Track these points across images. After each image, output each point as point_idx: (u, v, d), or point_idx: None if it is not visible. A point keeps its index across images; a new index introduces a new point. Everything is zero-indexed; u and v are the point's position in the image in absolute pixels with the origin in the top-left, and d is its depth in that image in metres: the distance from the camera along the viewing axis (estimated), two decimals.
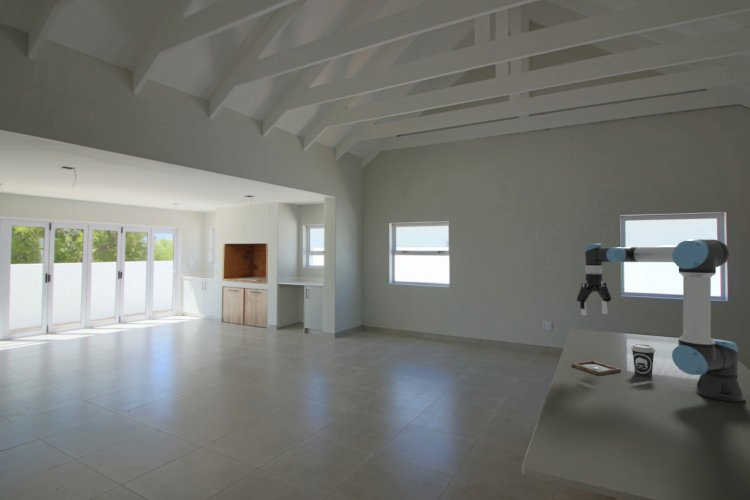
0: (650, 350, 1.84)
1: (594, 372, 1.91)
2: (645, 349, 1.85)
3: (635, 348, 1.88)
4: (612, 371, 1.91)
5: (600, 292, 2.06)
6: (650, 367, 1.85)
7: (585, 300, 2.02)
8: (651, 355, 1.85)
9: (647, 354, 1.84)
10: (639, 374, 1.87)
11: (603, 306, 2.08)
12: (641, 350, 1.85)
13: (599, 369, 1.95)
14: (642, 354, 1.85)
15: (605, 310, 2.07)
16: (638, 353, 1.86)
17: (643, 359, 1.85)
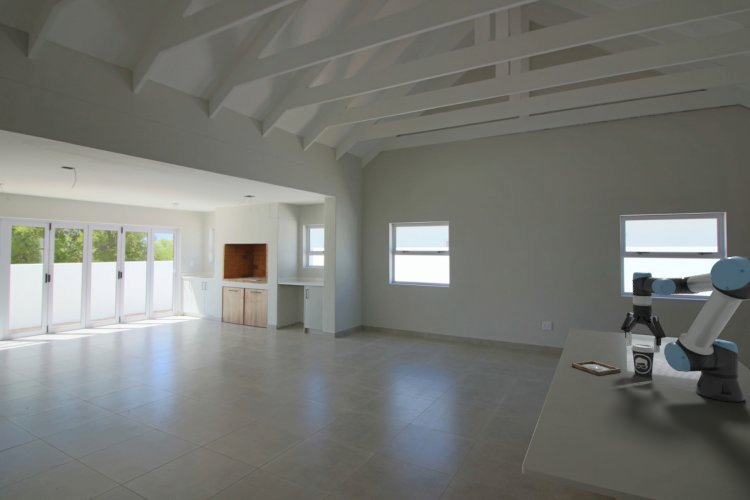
0: (650, 350, 1.84)
1: (594, 372, 1.91)
2: (645, 349, 1.85)
3: (635, 348, 1.88)
4: (612, 371, 1.91)
5: None
6: (650, 367, 1.85)
7: (627, 330, 1.95)
8: (651, 355, 1.85)
9: (647, 354, 1.84)
10: (639, 374, 1.87)
11: None
12: (641, 350, 1.85)
13: (599, 369, 1.95)
14: (642, 354, 1.85)
15: None
16: (638, 353, 1.86)
17: (643, 359, 1.85)
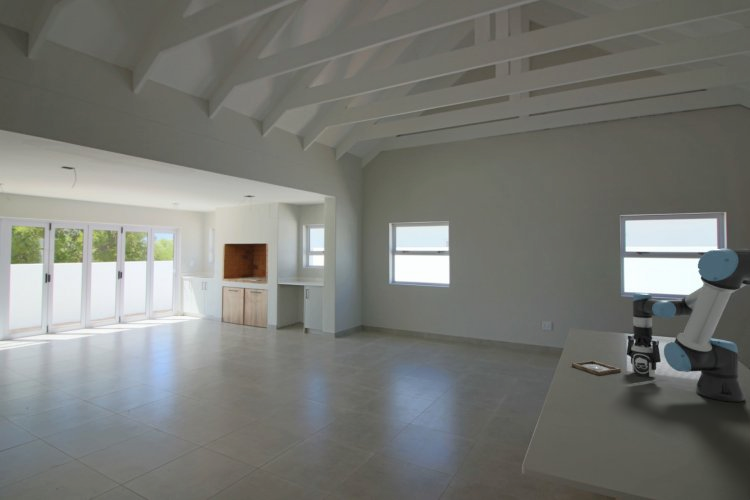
0: (650, 350, 1.84)
1: (594, 372, 1.91)
2: (645, 349, 1.85)
3: (635, 348, 1.88)
4: (612, 371, 1.91)
5: None
6: None
7: (632, 355, 1.92)
8: None
9: (647, 354, 1.84)
10: (639, 374, 1.87)
11: None
12: (641, 350, 1.85)
13: (599, 369, 1.95)
14: (642, 354, 1.85)
15: None
16: (638, 353, 1.86)
17: (643, 359, 1.85)
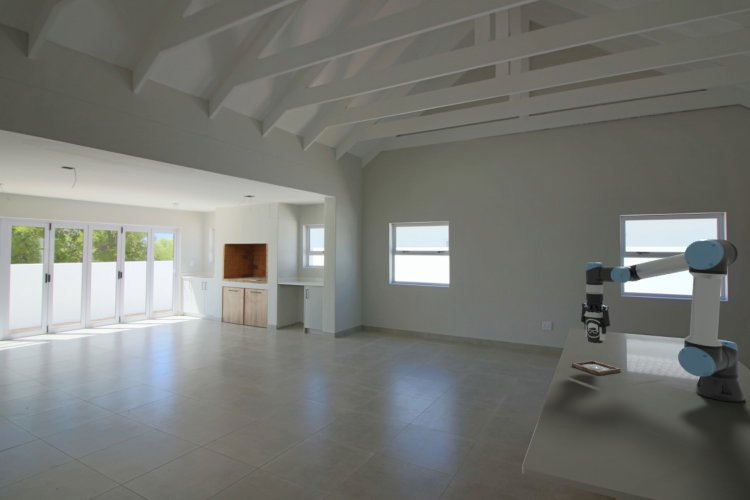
0: (601, 315, 1.94)
1: (594, 372, 1.91)
2: (596, 314, 1.95)
3: (587, 314, 1.98)
4: (612, 371, 1.91)
5: None
6: None
7: (585, 321, 2.02)
8: None
9: (598, 319, 1.94)
10: (591, 338, 1.97)
11: None
12: (592, 315, 1.95)
13: (599, 369, 1.95)
14: (593, 319, 1.95)
15: None
16: (590, 318, 1.96)
17: (594, 323, 1.95)
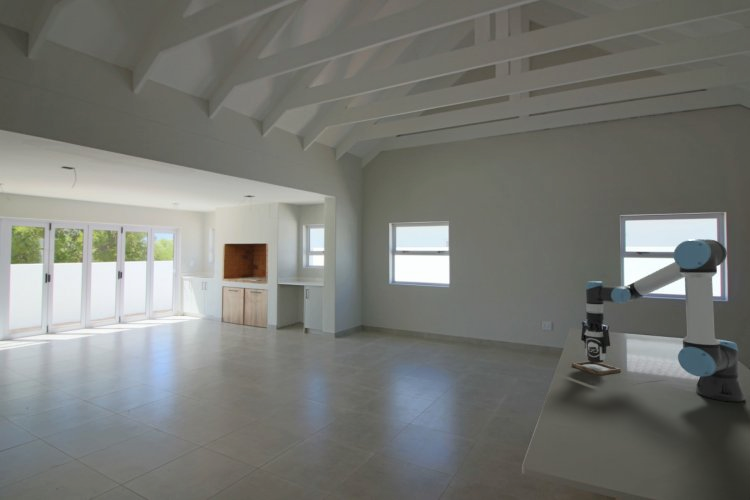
0: (601, 335, 1.94)
1: (594, 372, 1.91)
2: (596, 334, 1.95)
3: (587, 333, 1.98)
4: (612, 371, 1.91)
5: None
6: None
7: None
8: None
9: (598, 338, 1.94)
10: (591, 358, 1.97)
11: None
12: (593, 335, 1.95)
13: (599, 369, 1.95)
14: (593, 338, 1.95)
15: None
16: (590, 338, 1.96)
17: (594, 343, 1.95)
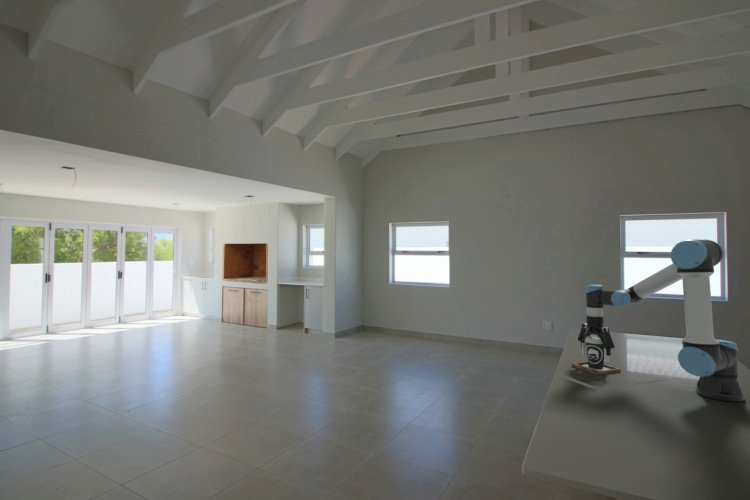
0: (601, 341, 1.94)
1: (594, 372, 1.91)
2: (596, 341, 1.94)
3: (587, 340, 1.97)
4: (612, 371, 1.91)
5: None
6: (601, 358, 1.95)
7: (582, 340, 2.04)
8: (602, 346, 1.94)
9: (598, 345, 1.94)
10: (591, 364, 1.97)
11: None
12: (593, 342, 1.95)
13: (599, 369, 1.95)
14: (594, 345, 1.95)
15: None
16: (590, 344, 1.96)
17: (594, 350, 1.95)
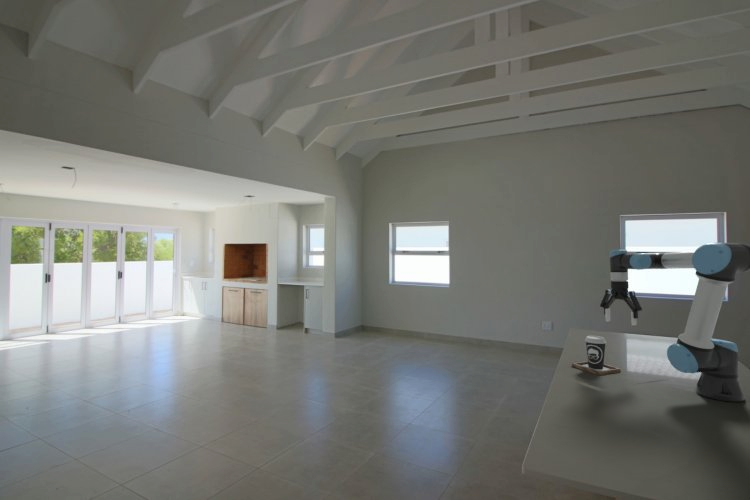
0: (601, 341, 1.94)
1: (594, 372, 1.91)
2: (596, 340, 1.95)
3: (588, 339, 1.98)
4: (612, 371, 1.91)
5: None
6: (601, 357, 1.95)
7: (605, 306, 2.04)
8: (602, 346, 1.94)
9: (598, 345, 1.94)
10: (591, 364, 1.97)
11: None
12: (593, 341, 1.95)
13: (599, 369, 1.95)
14: (594, 345, 1.95)
15: None
16: (590, 344, 1.96)
17: (594, 349, 1.95)
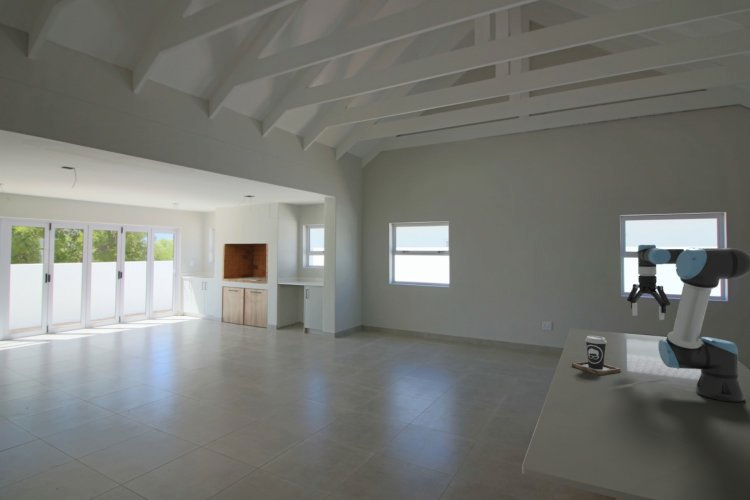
0: (601, 341, 1.94)
1: (594, 372, 1.91)
2: (597, 340, 1.94)
3: (588, 339, 1.97)
4: (612, 371, 1.91)
5: None
6: (601, 358, 1.95)
7: (632, 300, 2.04)
8: (602, 346, 1.94)
9: (598, 345, 1.94)
10: (591, 364, 1.97)
11: None
12: (593, 341, 1.95)
13: (599, 369, 1.95)
14: (594, 345, 1.95)
15: None
16: (590, 344, 1.96)
17: (595, 350, 1.95)
